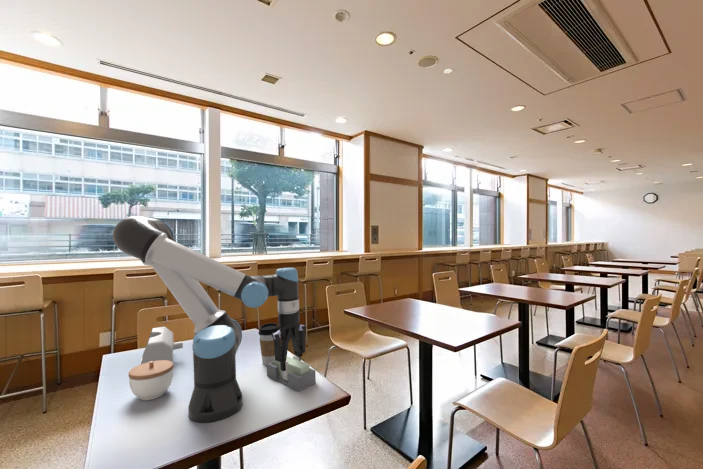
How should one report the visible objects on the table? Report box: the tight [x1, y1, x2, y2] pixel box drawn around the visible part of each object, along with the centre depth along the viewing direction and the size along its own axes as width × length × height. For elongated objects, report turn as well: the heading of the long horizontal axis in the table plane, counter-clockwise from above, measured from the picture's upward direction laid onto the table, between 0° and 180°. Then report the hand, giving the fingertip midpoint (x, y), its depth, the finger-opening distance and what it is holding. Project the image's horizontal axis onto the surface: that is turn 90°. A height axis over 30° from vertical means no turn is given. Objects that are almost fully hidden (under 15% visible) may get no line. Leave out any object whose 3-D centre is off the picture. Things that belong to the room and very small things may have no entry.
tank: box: [139, 326, 184, 365], centre depth 134 cm, size 25×16×12 cm, turn 28°
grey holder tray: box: [266, 361, 317, 392], centre depth 115 cm, size 8×18×4 cm, turn 48°
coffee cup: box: [258, 322, 279, 366], centre depth 131 cm, size 8×8×15 cm
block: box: [274, 356, 310, 378], centre depth 115 cm, size 15×4×6 cm, turn 50°
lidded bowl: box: [128, 360, 174, 401], centre depth 107 cm, size 13×13×11 cm
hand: (291, 376), depth 115 cm, fingers closed on block, 4 cm apart
